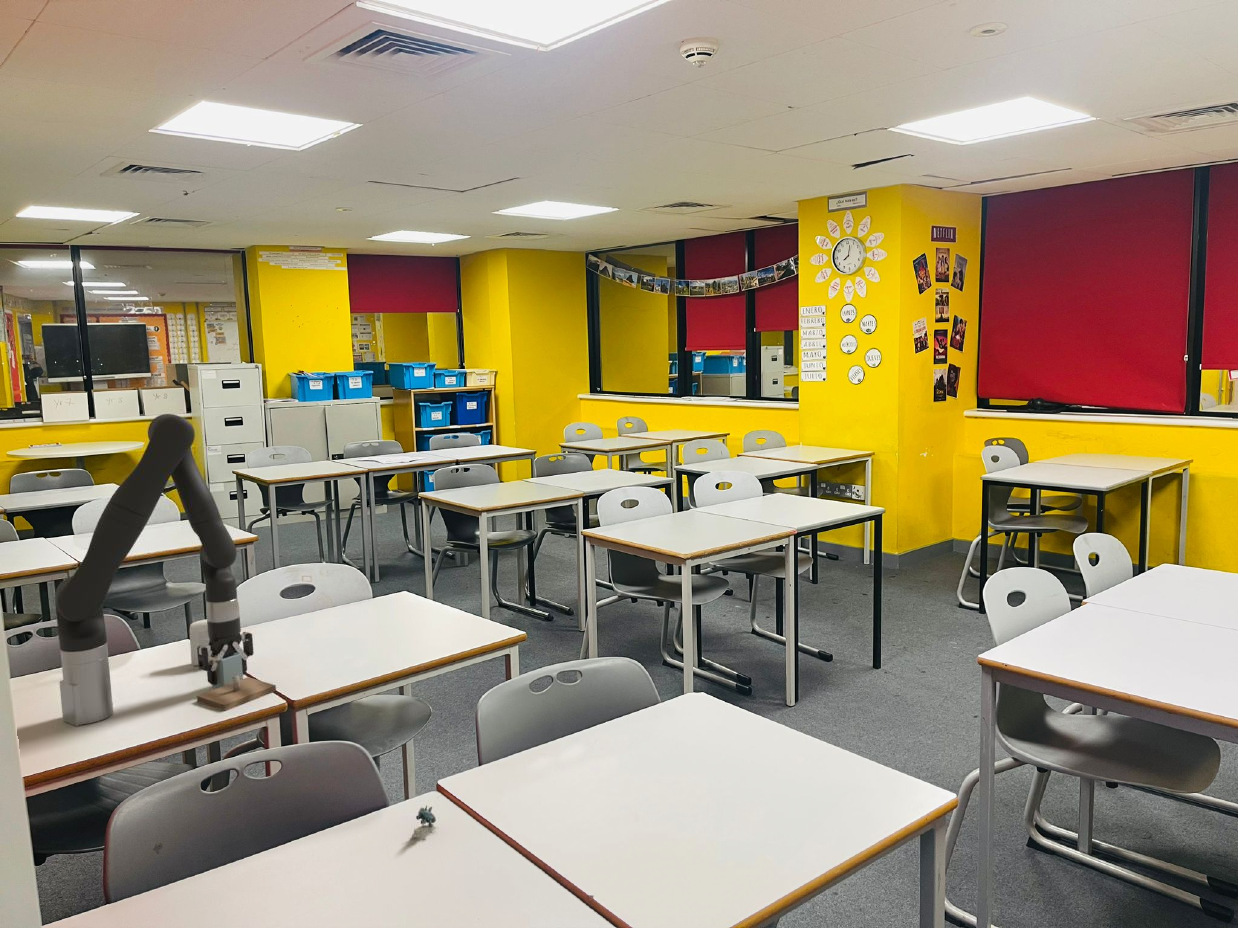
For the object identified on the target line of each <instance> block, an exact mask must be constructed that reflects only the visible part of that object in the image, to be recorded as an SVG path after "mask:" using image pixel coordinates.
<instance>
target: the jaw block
mask: <svg viewBox="0 0 1238 928" xmlns="http://www.w3.org/2000/svg"><path fill="white" fill-rule="evenodd" d="M216 657H217V656H216V655H215V658H216ZM216 671H217V684H216V685H212V687H211V688H212V689H217V688H220V687H222V686H225V685H228V684H231V683H233V676H239V680H242V679H244V675H243V671H242V656H241V654H238V653H234V654H233V655H228V656H226V657H224V658H222V659H221V662H220V663H218V665H217V667H216Z"/></svg>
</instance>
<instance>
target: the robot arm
mask: <svg viewBox="0 0 1238 928" xmlns="http://www.w3.org/2000/svg"><path fill="white" fill-rule="evenodd" d="M195 432H196V431H195V429H194V426H193V424H192V423H191V422H190V421H189V420H188V419H187V418H185V417H182V416H180V415H177V414H172V413H164V414H159V415H157V416H156V417H154V418H153V419H152V420H151V421H150V423H149V424H148V428H147V437H148V440H149V441H148V443H147V446H146V448H145V450H144V452H143V454H142V456H141V458H140V460H139V461H138V463H137V465H136V467H135V468H134V469H133V470H132V471H131V473H129V475H127V477H126V478H125V479H124V480H123V482H122V483H121V484H120V485H119V486H118V487H117V489H116V490H115V492H114V493H113V494H112V495H111V497H110V499H109V500H108V502H107V504H106V506H105V508H104V509H103V511H102V512H101V514H100V517H99V519H98V522H97V523H96V526H95V528H94V531H93V532H92V537H91V539H90V543H89V545H88V548H87V551H86V553H85V556H84V558H83V560H82V562H81V563H80V564H79V566H78V568H77V569H76V571H75V572H74V573H73V575H72V576H69V577H66V578H65V579H64V580H63V581H61V582H60V583H59V584H58V586H57V588H56V589H55V593H54V605H55V615H56V623H57V635H58V642H59V649H60V659H61V660H60V661H61V668H62V679H63V680H60V681H59V691H60V701H61V703H60V704H61V713H62V720H63V722H65V723H67V724H70V725H73V726H75V727H78V726H81V725H87V724H92V723H97V722H100V721H102V720H105V719H108V718H109V717H110V716H112V715H113V714H114V705H113V696H112V683H111V673H110V662H109V661H110V660H109V652H108V651H109V650H108V639H107V629H106V624H105V623H106V622H105V617H104V616H105V614H104V602H105V600H106V597H107V595H108V592H109V590H110V587H111V585H112V583H113V580H114V578H115V576H116V574H117V572H118V570H119V569H120V566H121V565H122V563H124V560H125V559H126V558H127V556H128V555H129V553H130V551H132V549H133V547H134V545H135V544H136V542H137V541H138V539H139V537H140V535H141V534H142V532H143V531H144V529H145V527H146V526H147V523H148V522H149V520H150V518H151V516H152V514H153V512H154V510H155V509H156V506H157V504H158V502H159V500H160V499H161V496H162V494H163V493H164V492H163V491H164V490H165V488H166V485H167V483H168V482H169V479H170V478H171V479H172V481H173V484H174V487H175V489H176V491H177V495H178V497H179V499H180V502H181V505H182V507H183V510H184V513H185V515H186V518H187V521H188V523H189V525H190V527H191V530H192V531H193V533H194V534H196V535H197V537H198V539H199V540H200V544H201V546H200V550H199V560H200V564H201V569H202V574H203V577H204V582H205V583H204V584H205V597H206V606H205V607H206V608H205V609H206V619H207V626H208V636H209V639H210V641H209V644H208V645H206V646H203V647H202V646H198V647H197V654H198V665H197V666H198V669H199V670H202V671H205V672H206V675H207V676H206V677H207V682H208V683H209V684H210V685H216V684H217V671H216V667H217V665H218V663H220V662H221V659H222V658H224V657H226V656H228V655H233V654H234V653H238V654H241V656H242V671H243V676H244V675H246V674H247V670H248V665H247V664H248V663H247V660H248V658H249V657H252V656H253V655H254V639H253V634H252V633H251V632H248V631H247V632H246V631H243V632H242V633H241V631H242V629H241V615H240V605H239V601H238V591H237V581H236V578H235V576H234V575H233V573H232V567H231V566H232V565H233V564H234V563H235V561H236V558H237V556H238V553H237V548H236V545H235V543H234V540H233V538H232V536H231V535H230V532H229V531H228V529H227V527H226V526H225V524H224V522H223V520H222V516H221V514H220V511H219V508H218V506H217V503H216V501H215V498H214V496H213V494H212V492H211V491H210V488H209V486H208V484H207V483H206V481H205V479H204V477H203V476H202V474H201V472H200V469H199V467H198V465H197V463H196V460H195V458H194V454H193V450H192V448H191V447H192V445H193V444H194V441H195V437H196V433H195ZM241 642H242V647H241V646H240V644H241ZM209 650H211V653H210V656H209V658H208V654H209ZM215 655H216V656H217V657H216V658H215ZM208 659H209V661H208Z"/></svg>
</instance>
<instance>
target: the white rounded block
mask: <svg viewBox="0 0 1238 928" xmlns="http://www.w3.org/2000/svg"><path fill="white" fill-rule="evenodd" d="M209 641H210V639H209V636H208V626H207V618H206V619H202V620H198V621H194V622H192V623H191V624H190V626H189V646H190V647H189V648H190V660H191V662H190V663H191V664H190V665H192V666H194V667H195V666H198V654H197V647H198V646H202V647H203V646H206V645H208V644H209ZM210 653H211V650H209V654H208V658H209V656H210ZM208 661H209V659H208Z"/></svg>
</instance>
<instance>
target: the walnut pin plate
mask: <svg viewBox="0 0 1238 928" xmlns="http://www.w3.org/2000/svg"><path fill="white" fill-rule="evenodd" d="M276 691H277V685H275V684H273V683H269V682H265V681H262V680H258V679H255V678H252V677H249V676H247V677H245V678H244V677H243V679H242V680H239V676H233V683H231V684H228V685H225V686H222V687H220V688H217V689H215V688H213V689H211V690H209V691H206V692H203V693H201V694H198V695H196V701H197V703H200V704H203V705H206V706H209V707H212V708H215V709H218V710H222V711H224V712H225V711H228V710H231V709H234V708H237V707H238V706H241V705H245V704H246V703H248V702H251V701H254V700H256V699H257V700H258V699H260V698H262V697H264V696H267V695H269V694H272V693H275V692H276Z"/></svg>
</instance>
